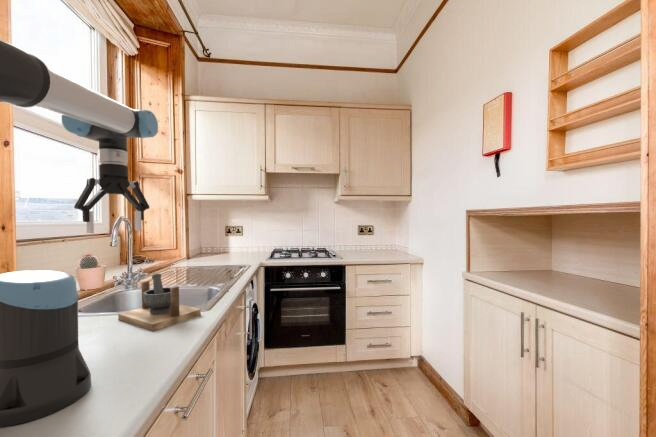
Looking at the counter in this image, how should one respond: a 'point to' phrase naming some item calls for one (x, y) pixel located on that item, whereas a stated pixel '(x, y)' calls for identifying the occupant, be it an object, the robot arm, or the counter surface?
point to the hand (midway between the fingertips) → (115, 231)
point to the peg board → (156, 322)
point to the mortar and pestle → (158, 297)
